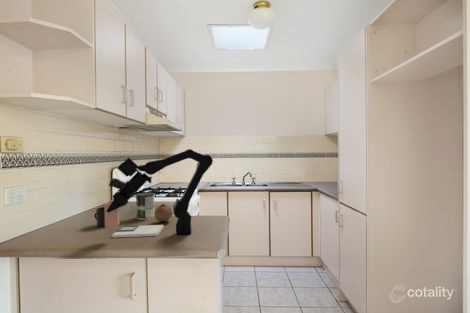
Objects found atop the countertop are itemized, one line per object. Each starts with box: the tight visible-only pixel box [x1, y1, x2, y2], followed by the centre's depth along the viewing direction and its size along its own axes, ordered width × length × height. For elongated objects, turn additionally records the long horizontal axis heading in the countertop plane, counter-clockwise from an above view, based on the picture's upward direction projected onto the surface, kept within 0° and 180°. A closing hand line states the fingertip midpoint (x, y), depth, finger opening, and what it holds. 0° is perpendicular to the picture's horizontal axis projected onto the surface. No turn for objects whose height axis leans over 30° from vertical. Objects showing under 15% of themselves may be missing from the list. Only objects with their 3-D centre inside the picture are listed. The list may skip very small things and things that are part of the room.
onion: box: [154, 203, 173, 223], centre depth 141 cm, size 10×9×10 cm
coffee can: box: [135, 192, 155, 221], centre depth 152 cm, size 10×10×14 cm
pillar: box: [103, 199, 120, 229], centre depth 112 cm, size 5×5×11 cm
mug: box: [94, 206, 105, 228], centre depth 138 cm, size 9×12×9 cm
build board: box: [111, 224, 164, 239], centre depth 124 cm, size 20×14×2 cm
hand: (108, 210), depth 112 cm, fingers closed on pillar, 5 cm apart
